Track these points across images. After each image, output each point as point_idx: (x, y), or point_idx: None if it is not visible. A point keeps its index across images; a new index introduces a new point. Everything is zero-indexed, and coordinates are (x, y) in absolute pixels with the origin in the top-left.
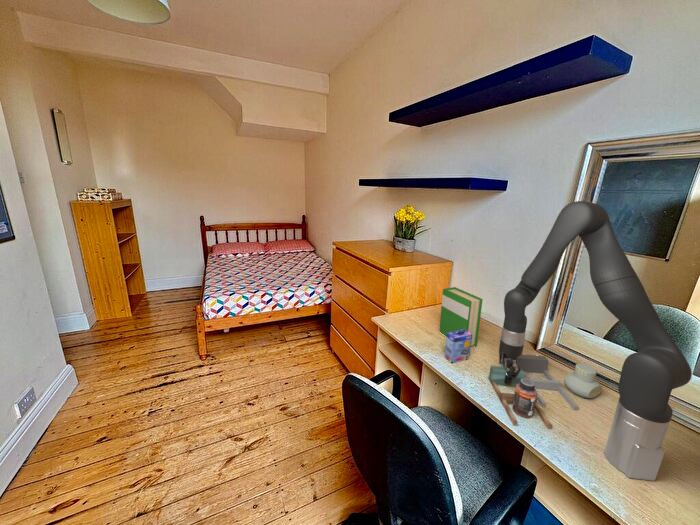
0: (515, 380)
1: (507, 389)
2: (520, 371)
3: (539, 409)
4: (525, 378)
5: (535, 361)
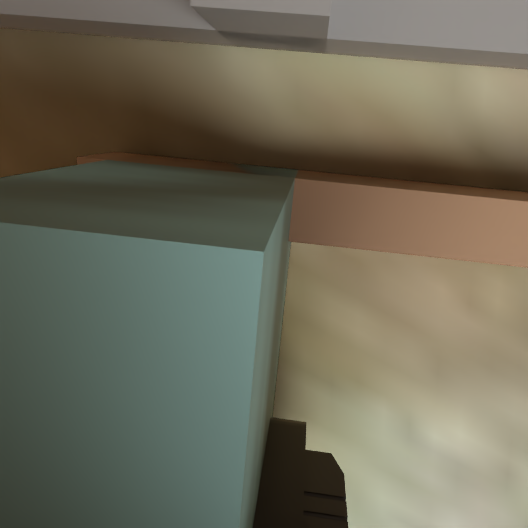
0: (273, 370)
1: (363, 457)
2: (160, 404)
3: None
4: (93, 1)
5: None
